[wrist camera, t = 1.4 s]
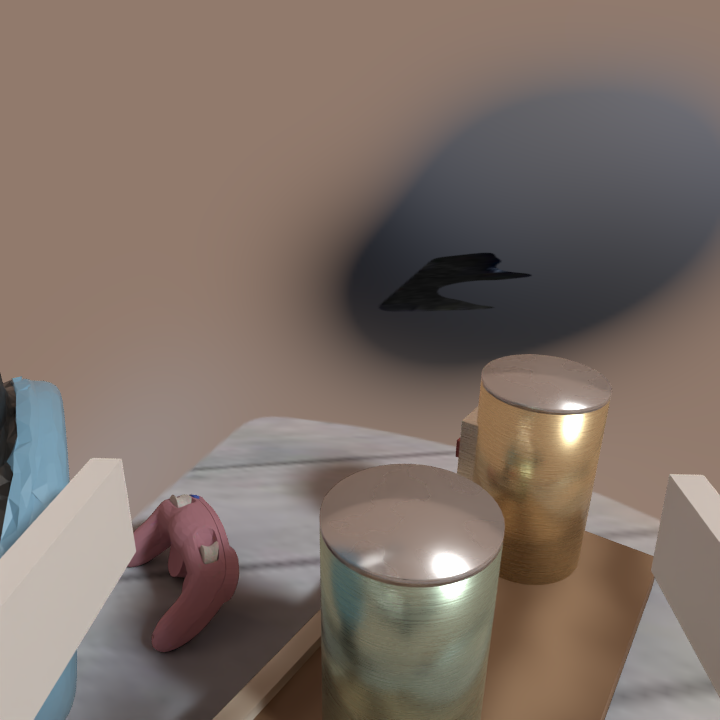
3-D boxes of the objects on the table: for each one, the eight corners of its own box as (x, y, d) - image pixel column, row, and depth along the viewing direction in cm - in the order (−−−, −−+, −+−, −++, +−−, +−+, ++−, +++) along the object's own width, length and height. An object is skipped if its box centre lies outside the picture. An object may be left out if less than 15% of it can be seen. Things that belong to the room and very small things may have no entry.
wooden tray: (95, 888, 27) (83, 841, 26) (446, 506, 51) (449, 472, 50) (420, 1230, 19) (427, 1187, 18) (651, 587, 43) (661, 550, 42)
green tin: (486, 809, 28) (518, 585, 23) (312, 796, 28) (307, 572, 23) (469, 654, 35) (491, 459, 30) (333, 645, 36) (332, 452, 31)
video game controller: (220, 657, 40) (263, 559, 39) (149, 660, 37) (193, 555, 36) (173, 561, 47) (208, 478, 46) (112, 558, 45) (148, 469, 44)
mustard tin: (593, 536, 44) (625, 373, 39) (557, 602, 39) (590, 422, 34) (483, 495, 49) (500, 343, 44) (436, 549, 43) (449, 382, 38)
